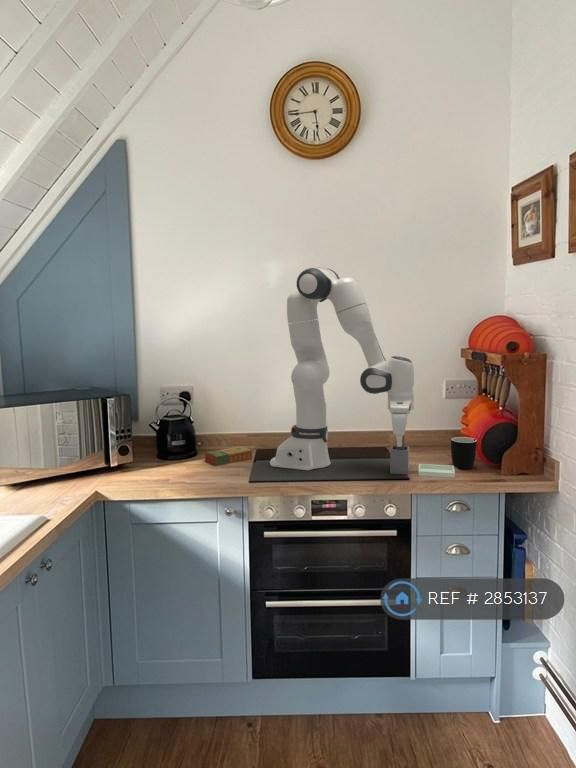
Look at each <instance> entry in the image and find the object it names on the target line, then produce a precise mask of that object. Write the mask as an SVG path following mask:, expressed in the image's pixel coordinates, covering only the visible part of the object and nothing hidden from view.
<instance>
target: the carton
mask: <svg viewBox="0 0 576 768" xmlns="http://www.w3.org/2000/svg"><path fill="white" fill-rule="evenodd" d="M252 452H253V451H252V449H250V448H248V447H246V446H242V445H237V446H232V447H227V448H223V449H215V450H210V451H206V452H205V453H204V454H205V455H204V462H205V463H208V464H210V465H212V466H216V467H218V466H223V465H229V464H233V463H239V462H243V461H249V460H253V454H252Z"/></svg>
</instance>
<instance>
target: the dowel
mask: <svg viewBox="0 0 576 768" xmlns="http://www.w3.org/2000/svg"><path fill="white" fill-rule="evenodd" d="M395 446H396V449H398V450H404V446H405V434H404V435H403V437H402V446H401V447H398V446H397V440H396V439H395Z"/></svg>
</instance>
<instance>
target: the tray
mask: <svg viewBox="0 0 576 768" xmlns="http://www.w3.org/2000/svg"><path fill="white" fill-rule="evenodd" d="M417 473H418V475H417V476H420V477H435V478H437V477H438V478H452V479H453V478H454V479H455V478H456V472H455V466H454V465H453V464H452V465H449V464H428V463H418V471H417Z"/></svg>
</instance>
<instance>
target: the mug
mask: <svg viewBox="0 0 576 768" xmlns="http://www.w3.org/2000/svg"><path fill="white" fill-rule="evenodd" d="M474 439H475V438H473V437H466V436H457V437H452V438H451V439H450V452H451V462H452V466H454V468H457V469H459V470H470V469H472V468H473V467H474V465H475V460H476V456H477V448H478V447H477V446H478V444H477V443H478V440H477V439H476V440H475V441H474Z"/></svg>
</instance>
